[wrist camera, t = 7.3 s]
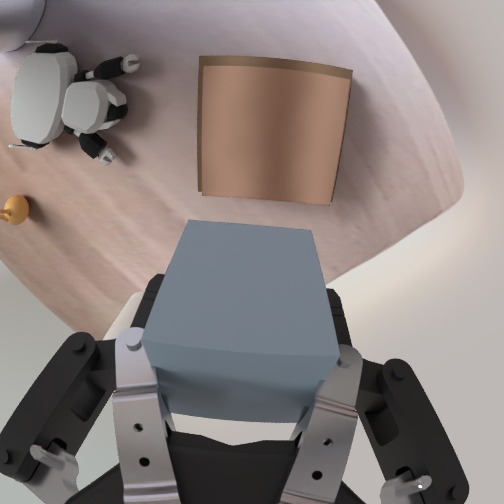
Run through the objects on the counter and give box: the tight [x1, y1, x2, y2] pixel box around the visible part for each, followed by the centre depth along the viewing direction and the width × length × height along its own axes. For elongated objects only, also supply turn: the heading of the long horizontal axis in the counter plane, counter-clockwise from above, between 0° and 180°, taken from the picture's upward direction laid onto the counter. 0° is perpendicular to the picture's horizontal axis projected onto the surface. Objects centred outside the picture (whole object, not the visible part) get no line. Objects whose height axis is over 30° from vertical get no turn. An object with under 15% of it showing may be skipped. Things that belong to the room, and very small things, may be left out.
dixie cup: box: [103, 292, 144, 340], centre depth 34 cm, size 8×8×10 cm
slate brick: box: [141, 220, 340, 423], centre depth 10 cm, size 5×5×6 cm
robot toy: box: [8, 40, 140, 165], centre depth 20 cm, size 12×4×15 cm
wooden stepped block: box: [197, 56, 353, 206], centre depth 21 cm, size 12×12×6 cm
